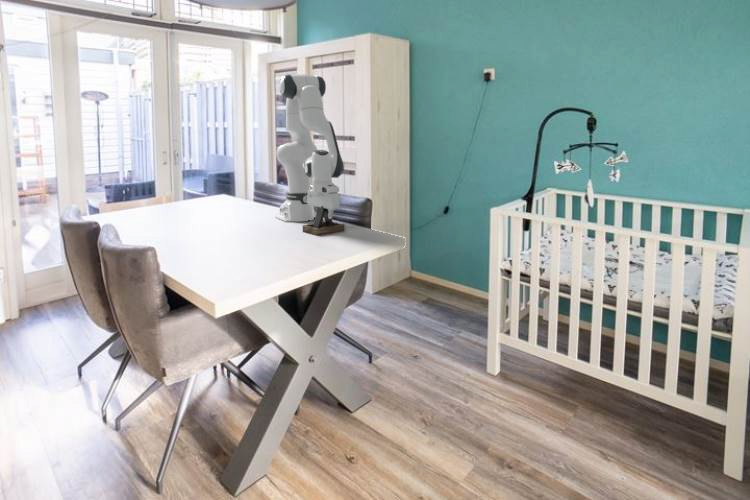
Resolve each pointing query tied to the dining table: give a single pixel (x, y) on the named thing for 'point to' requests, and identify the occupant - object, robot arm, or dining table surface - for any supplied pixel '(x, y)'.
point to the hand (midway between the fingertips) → (323, 217)
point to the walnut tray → (323, 229)
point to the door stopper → (319, 218)
